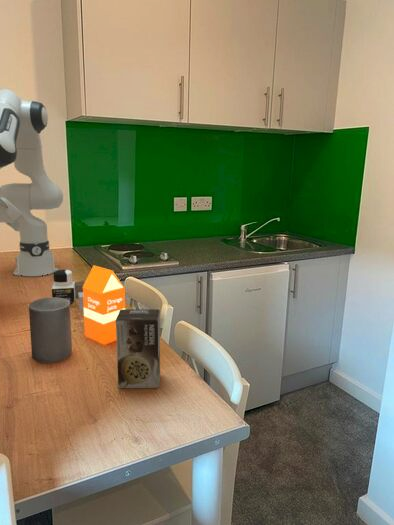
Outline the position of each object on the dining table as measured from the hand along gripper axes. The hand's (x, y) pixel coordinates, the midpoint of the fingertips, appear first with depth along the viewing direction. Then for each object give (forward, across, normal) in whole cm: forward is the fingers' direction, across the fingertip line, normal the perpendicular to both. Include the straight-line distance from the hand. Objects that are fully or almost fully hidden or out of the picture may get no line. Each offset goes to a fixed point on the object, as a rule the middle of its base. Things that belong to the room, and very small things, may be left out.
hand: (19, 230), depth 126 cm
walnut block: (+33, +3, +1) cm, 33 cm away
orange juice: (+29, -35, +12) cm, 47 cm away
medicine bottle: (+28, -2, +8) cm, 29 cm away
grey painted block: (+31, -11, +5) cm, 33 cm away
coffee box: (+27, -61, +19) cm, 69 cm away
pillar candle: (+19, -36, +24) cm, 48 cm away
